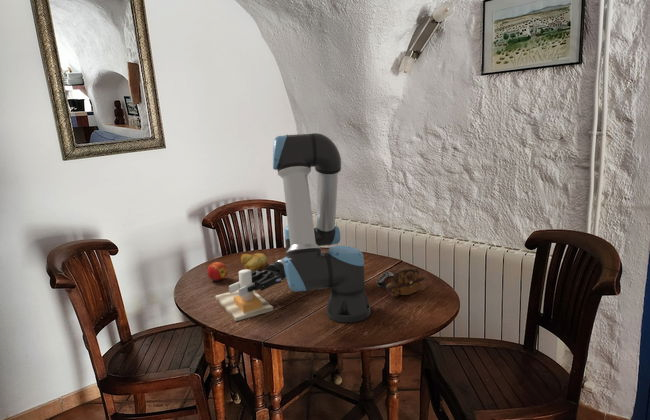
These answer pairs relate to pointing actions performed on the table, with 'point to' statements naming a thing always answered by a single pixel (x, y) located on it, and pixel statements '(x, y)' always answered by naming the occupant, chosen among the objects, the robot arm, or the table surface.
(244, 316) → the plywood board
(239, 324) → the table surface
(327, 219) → the robot arm
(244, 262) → the bread roll
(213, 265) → the apple
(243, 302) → the block
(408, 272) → the wooden carving
